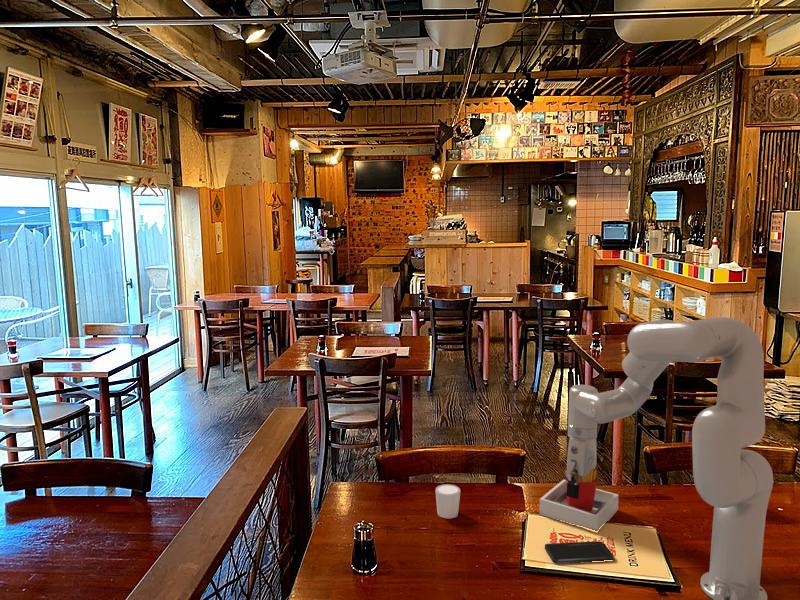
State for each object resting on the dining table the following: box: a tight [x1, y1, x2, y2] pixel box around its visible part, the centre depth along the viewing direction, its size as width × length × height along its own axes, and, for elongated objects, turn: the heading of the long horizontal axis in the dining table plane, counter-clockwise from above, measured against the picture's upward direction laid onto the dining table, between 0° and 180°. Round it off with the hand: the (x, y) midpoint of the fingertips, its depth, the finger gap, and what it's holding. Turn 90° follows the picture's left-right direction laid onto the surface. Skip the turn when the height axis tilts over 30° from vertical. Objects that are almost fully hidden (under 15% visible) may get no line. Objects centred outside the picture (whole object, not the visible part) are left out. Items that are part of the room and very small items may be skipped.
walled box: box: [538, 478, 620, 531], centre depth 164 cm, size 16×16×4 cm
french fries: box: [564, 469, 598, 512], centre depth 162 cm, size 8×4×12 cm, turn 94°
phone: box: [544, 540, 615, 565], centre depth 144 cm, size 8×1×15 cm
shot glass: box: [435, 483, 461, 520], centre depth 163 cm, size 7×7×7 cm
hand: (579, 491), depth 163 cm, fingers open, 9 cm apart
